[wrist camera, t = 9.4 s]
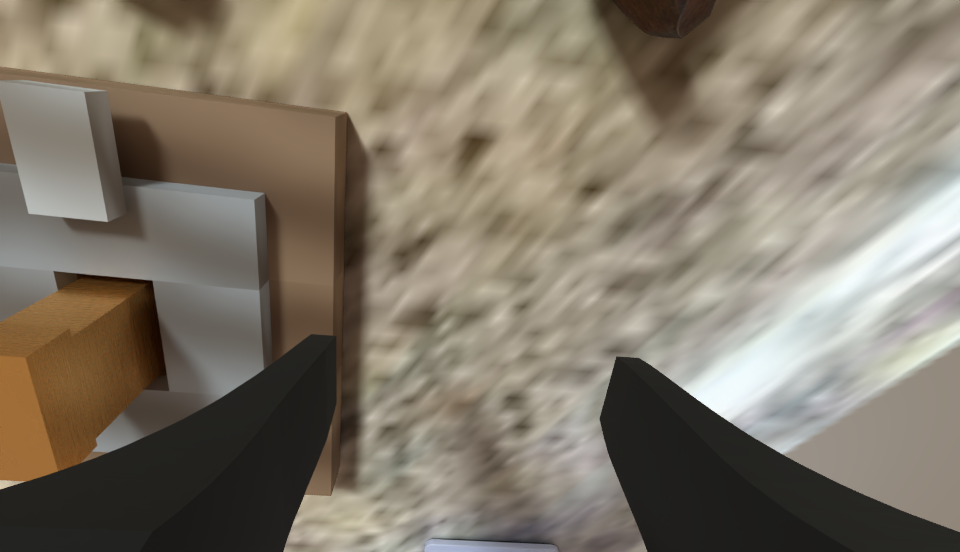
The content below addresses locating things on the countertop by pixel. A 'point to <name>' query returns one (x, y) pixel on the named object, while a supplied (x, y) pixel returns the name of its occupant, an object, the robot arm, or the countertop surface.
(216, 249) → the brown grey stepped board
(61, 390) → the notched wooden block
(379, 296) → the countertop surface
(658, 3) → the bolt
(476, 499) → the countertop surface
